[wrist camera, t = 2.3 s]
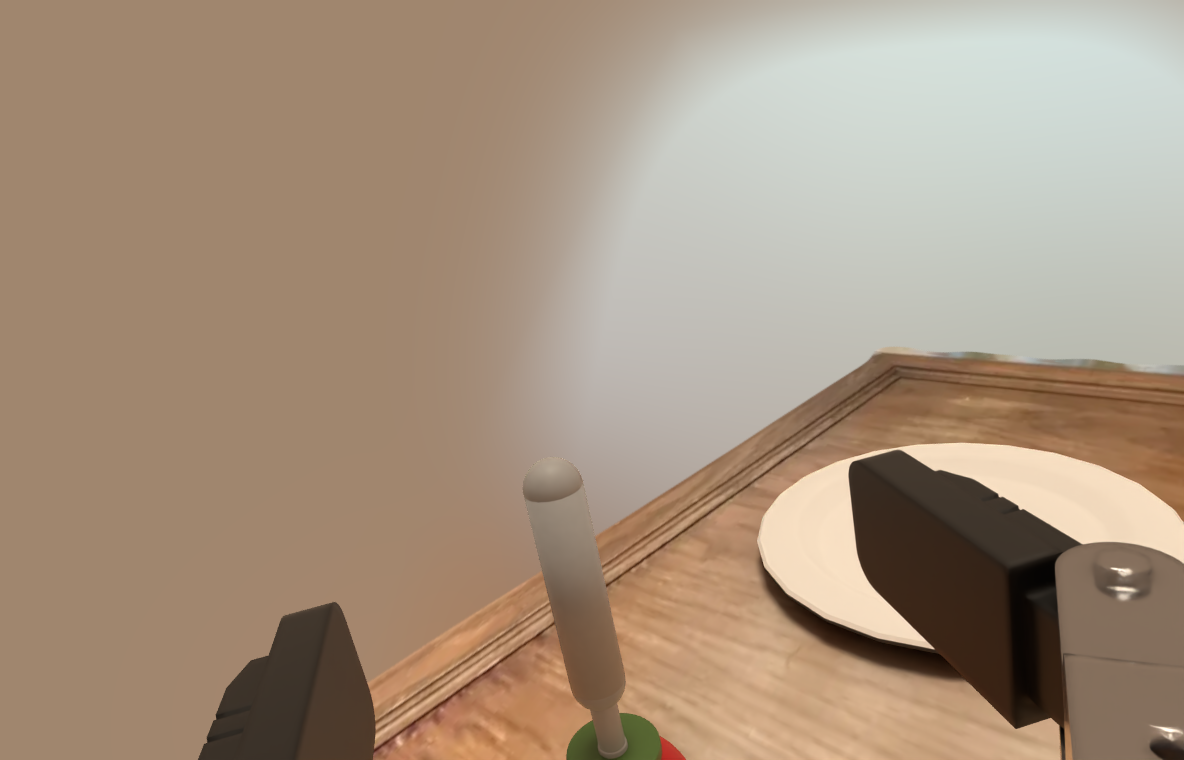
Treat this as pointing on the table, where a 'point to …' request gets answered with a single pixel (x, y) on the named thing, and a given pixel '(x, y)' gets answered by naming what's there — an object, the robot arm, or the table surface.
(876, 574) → the robot arm
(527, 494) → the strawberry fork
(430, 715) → the table surface
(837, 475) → the plate
